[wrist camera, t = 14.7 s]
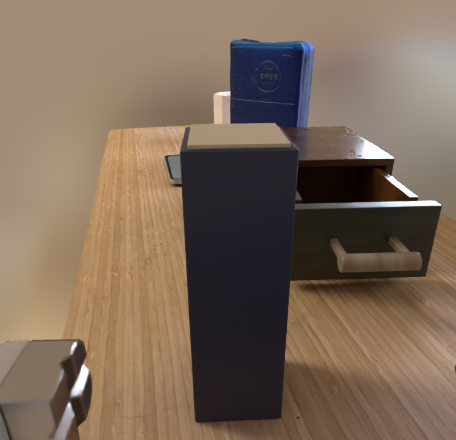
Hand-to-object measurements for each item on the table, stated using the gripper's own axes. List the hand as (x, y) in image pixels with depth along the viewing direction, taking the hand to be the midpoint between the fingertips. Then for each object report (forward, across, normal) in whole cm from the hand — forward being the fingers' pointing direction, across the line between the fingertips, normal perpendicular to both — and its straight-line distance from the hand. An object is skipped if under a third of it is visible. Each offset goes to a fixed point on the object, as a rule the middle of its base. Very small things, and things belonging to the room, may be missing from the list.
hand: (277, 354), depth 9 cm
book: (+63, +8, -14) cm, 65 cm away
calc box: (+12, 0, -14) cm, 19 cm away
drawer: (+29, +11, -13) cm, 33 cm away
